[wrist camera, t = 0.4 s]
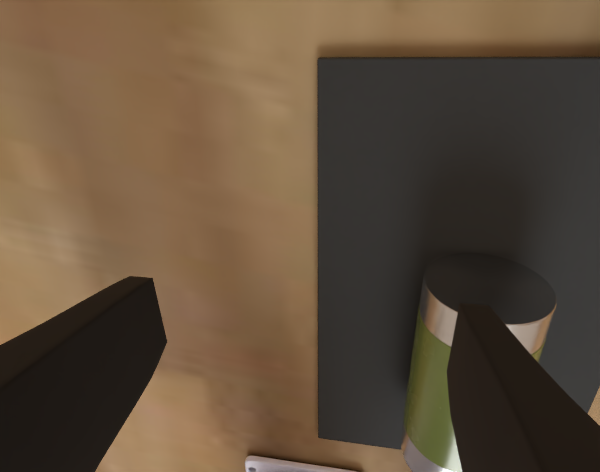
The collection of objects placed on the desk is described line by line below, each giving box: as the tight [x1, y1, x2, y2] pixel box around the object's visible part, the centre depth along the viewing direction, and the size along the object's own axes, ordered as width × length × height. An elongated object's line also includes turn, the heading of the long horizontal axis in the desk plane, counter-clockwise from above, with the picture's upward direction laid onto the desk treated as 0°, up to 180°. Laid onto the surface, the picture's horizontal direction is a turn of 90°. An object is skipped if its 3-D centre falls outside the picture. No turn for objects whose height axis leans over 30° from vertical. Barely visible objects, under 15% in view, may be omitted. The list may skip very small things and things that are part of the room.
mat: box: [318, 57, 600, 450], centre depth 21 cm, size 22×14×1 cm, turn 1°
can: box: [401, 253, 557, 472], centre depth 19 cm, size 5×5×10 cm
